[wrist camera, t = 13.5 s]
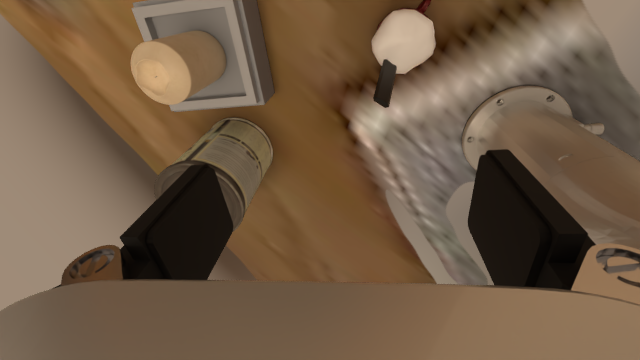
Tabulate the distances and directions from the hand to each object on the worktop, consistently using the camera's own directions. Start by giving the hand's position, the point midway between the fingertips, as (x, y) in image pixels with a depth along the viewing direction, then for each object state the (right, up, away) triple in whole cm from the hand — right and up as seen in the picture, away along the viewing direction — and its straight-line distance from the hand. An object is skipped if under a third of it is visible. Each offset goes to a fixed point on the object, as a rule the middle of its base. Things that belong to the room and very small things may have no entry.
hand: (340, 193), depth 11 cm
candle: (-14, +14, +23) cm, 31 cm away
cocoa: (+8, +17, +24) cm, 31 cm away
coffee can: (-13, +5, +35) cm, 37 cm away
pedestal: (-13, +17, +27) cm, 35 cm away
